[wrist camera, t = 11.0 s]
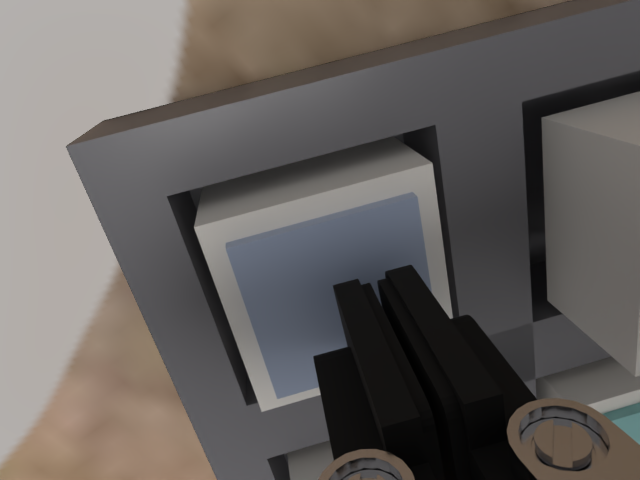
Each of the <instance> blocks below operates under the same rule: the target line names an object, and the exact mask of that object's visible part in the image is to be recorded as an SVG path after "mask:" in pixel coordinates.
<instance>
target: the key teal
mask: <svg viewBox="0 0 640 480" xmlns="http://www.w3.org/2000/svg"><path fill="white" fill-rule="evenodd" d="M536 397H537V400H539V399H546V398H561V399H567V400H572V401H577V402H579V403H582V404H584V405H587V406H590V407H592V408H594V409H595V410H597V411H598V412H600V413H601V414H603V415H604V416H606V417H607V418H608V419H609V420H611V421H612V422H613V423H614V424H615V425H617V426H618V427H619V428H620V429H621V430H623V431H624V432H625V433H626V434H627V435H629V436H630V437H631V438H632V439H633V440H635V441H636V442H637V443H638V444H639V445H640V376H637V377H635V376H634V375H632V374H631V373H630V372H629V371H628V370H627V369H626V368H624V367H623V366H622V365H621V364H620V363H619V362H618V361H616V360H615V359H614V358H613V357H612V356H611V357H608V358H605V359H601V360H598V361H594V362H591V363H588V364H584V365H581V366H578V367H574V368H571V369H568V370H564V371H561V372H557V373H554V374H551V375H547V376H544V377H541V378H537V379H536Z"/></svg>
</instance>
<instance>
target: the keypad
mask: <svg viewBox="0 0 640 480" xmlns="http://www.w3.org/2000/svg"><path fill="white" fill-rule="evenodd" d="M639 91H640V0H572V1H568V2H564V3H560V4H556V5H553V6H549V7H545V8H541V9H537V10H533V11H529V12H525V13H521V14H517V15H514V16H510V17H506V18H502V19H498V20H494V21H490V22H486V23H482V24H478V25H475V26H471V27H467V28H463V29H459V30H455V31H451V32H447V33H443V34H439V35H436V36H432V37H428V38H424V39H420V40H416V41H412V42H408V43H404V44H400V45H397V46H393V47H389V48H385V49H381V50H377V51H373V52H369V53H365V54H362V55H358V56H354V57H350V58H346V59H342V60H338V61H334V62H330V63H326V64H323V65H319V66H315V67H311V68H307V69H303V70H299V71H295V72H291V73H287V74H284V75H280V76H276V77H272V78H268V79H264V80H260V81H256V82H252V83H248V84H245V85H241V86H237V87H233V88H229V89H225V90H221V91H217V92H213V93H209V94H206V95H202V96H198V97H194V98H190V99H186V100H182V101H178V102H174V103H170V104H167V105H163V106H159V107H155V108H151V109H147V110H144V111H139V112H136V113H132V114H128V115H124V116H120V117H116V118H112V119H109V120H104V121H102V122H101V123H99V124H98V125H96V126H95V127H93V128H92V129H90V130H89V131H88V132H86V133H85V134H83V135H82V136H80V137H79V138H77V139H76V140H74V141H73V142H71V143H70V144H69V145H67V146H66V148H67V150H68V152H69V155H70V157H71V159H72V161H73V163H74V165H75V168H76V170H77V172H78V174H79V176H80V179H81V181H82V183H83V185H84V188H85V190H86V192H87V194H88V196H89V199H90V201H91V203H92V205H93V207H94V209H95V212H96V214H97V216H98V218H99V221H100V223H101V225H102V227H103V229H104V232H105V233H106V236H107V238H108V240H109V243H110V245H111V247H112V249H113V251H114V254H115V256H116V258H117V260H118V262H119V265H120V267H121V269H122V271H123V273H124V276H125V278H126V280H127V282H128V284H129V287H130V289H131V291H132V293H133V295H134V298H135V300H136V302H137V304H138V306H139V309H140V311H141V313H142V315H143V317H144V320H145V322H146V324H147V326H148V328H149V331H150V333H151V335H152V337H153V339H154V342H155V344H156V346H157V348H158V350H159V353H160V355H161V357H162V359H163V361H164V364H165V366H166V368H167V370H168V373H169V375H170V377H171V379H172V381H173V384H174V386H175V388H176V390H177V392H178V395H179V397H180V399H181V401H182V403H183V406H184V408H185V410H186V412H187V414H188V417H189V419H190V421H191V423H192V425H193V428H194V430H195V432H196V434H197V436H198V439H199V441H200V443H201V445H202V447H203V450H204V452H205V454H206V456H207V458H208V461H209V463H210V465H211V467H212V469H213V472H214V474H215V476H216V478H217V480H290V473H289V465H288V457H287V453H288V452H292V451H295V450H298V449H302V448H305V447H309V446H312V445H315V444H319V443H322V442H325V441H329V440H330V439H329V434H328V429H327V424H326V419H325V414H324V409H323V404H322V399H321V395H318V396H315V397H311V398H308V399H304V400H301V401H298V402H294V403H291V404H287V405H284V406H280V407H277V408H274V409H270V410H267V411H263V412H262V411H261V409H260V406H259V403H258V401H257V398H256V395H255V392H254V390H253V387H252V384H251V381H250V379H249V376H248V373H247V371H246V368H245V365H244V362H243V360H242V357H241V354H240V352H239V349H238V346H237V343H236V341H235V338H234V335H233V332H232V330H231V327H230V324H229V322H228V319H227V316H226V313H225V311H224V308H223V305H222V303H221V300H220V297H219V294H218V292H217V289H216V286H215V283H214V281H213V278H212V275H211V273H210V270H209V267H208V264H207V262H206V259H205V256H204V254H203V251H202V248H201V245H200V243H199V240H198V237H197V234H196V232H195V229H194V225H195V220H196V215H197V211H198V206H199V201H200V197H201V192H202V187H203V186H207V185H211V184H215V183H219V182H222V181H226V180H230V179H234V178H237V177H241V176H245V175H249V174H252V173H256V172H260V171H264V170H267V169H271V168H275V167H279V166H282V165H286V164H290V163H294V162H297V161H301V160H305V159H309V158H312V157H316V156H320V155H324V154H327V153H331V152H335V151H339V150H342V149H346V148H350V147H354V146H357V145H361V144H365V143H369V142H372V141H376V140H380V139H384V138H388V137H391V136H393V137H395V138H396V139H398V140H399V141H401V142H402V143H404V144H405V145H407V146H408V147H410V148H411V149H413V150H414V151H416V152H417V153H419V154H420V155H421V156H423V157H424V158H426V159H427V160H429V161H430V162H432V164H433V171H434V179H435V186H436V194H437V201H438V209H439V216H440V224H441V232H442V239H443V247H444V254H445V262H446V269H447V277H448V284H449V292H450V300H451V307H452V315H453V318H455V317H459V316H463V315H466V314H467V315H470V316H471V317H472V318H473V319H474V320H475V321H476V322H477V324H478V325H479V326H480V327H481V329H482V330H483V331H484V333H485V334H486V335H487V336H488V338H489V339H490V340H491V341H492V343H493V344H494V345H495V346H496V348H497V349H498V350H499V352H500V353H501V354H502V355H503V357H504V358H505V359H506V360H507V362H508V363H509V364H510V366H511V367H512V368H513V369H514V371H515V372H516V373H517V374H518V376H519V377H520V378H521V379H522V381H523V382H524V383H525V385H526V386H527V387H528V388H529V390H530V391H531V392H532V393H533V395H534V396H535V397H536V379H537V378H541V377H544V376H547V375H551V374H554V373H557V372H561V371H564V370H568V369H571V368H574V367H578V366H581V365H584V364H588V363H591V362H594V361H598V360H601V359H605V358H608V357H611V355H610V354H608V353H607V352H606V351H605V350H604V349H603V348H601V347H600V346H599V345H598V344H597V343H596V342H595V341H593V340H592V339H591V338H590V337H589V336H588V335H587V334H585V333H584V332H583V331H582V330H581V329H580V328H578V327H577V326H576V325H575V324H574V323H573V322H572V321H570V320H569V319H568V318H567V317H566V316H565V315H564V314H562V313H561V312H560V311H559V310H558V309H557V308H555V307H554V306H553V305H552V304H551V303H550V302H549V301H547V271H546V241H545V211H544V181H543V151H542V121H541V118H542V117H546V116H549V115H553V114H557V113H560V112H564V111H568V110H572V109H575V108H579V107H583V106H587V105H590V104H594V103H598V102H601V101H605V100H609V99H613V98H616V97H620V96H624V95H627V94H631V93H635V92H639ZM536 399H537V397H536Z"/></svg>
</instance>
